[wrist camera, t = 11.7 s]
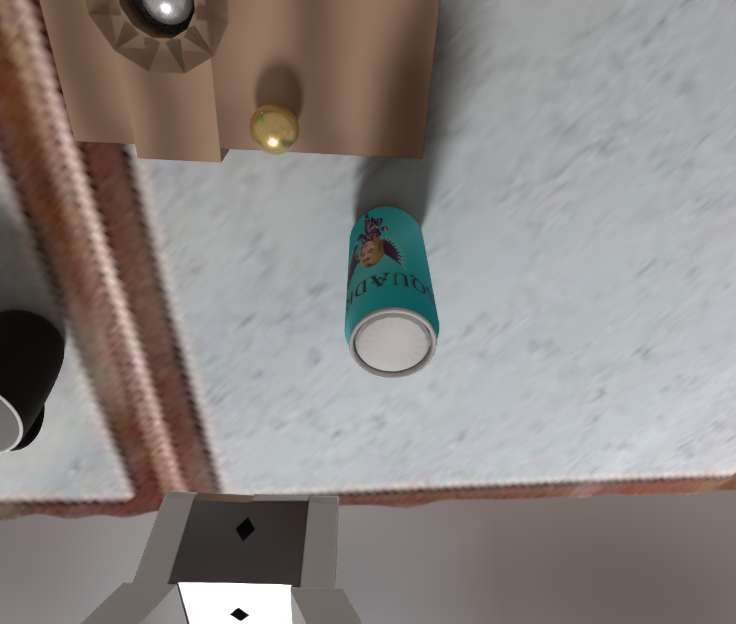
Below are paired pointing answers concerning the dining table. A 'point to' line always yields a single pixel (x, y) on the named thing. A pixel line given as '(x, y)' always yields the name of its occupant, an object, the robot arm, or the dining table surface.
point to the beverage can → (389, 296)
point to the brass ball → (274, 128)
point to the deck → (247, 74)
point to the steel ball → (169, 10)
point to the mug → (26, 375)
